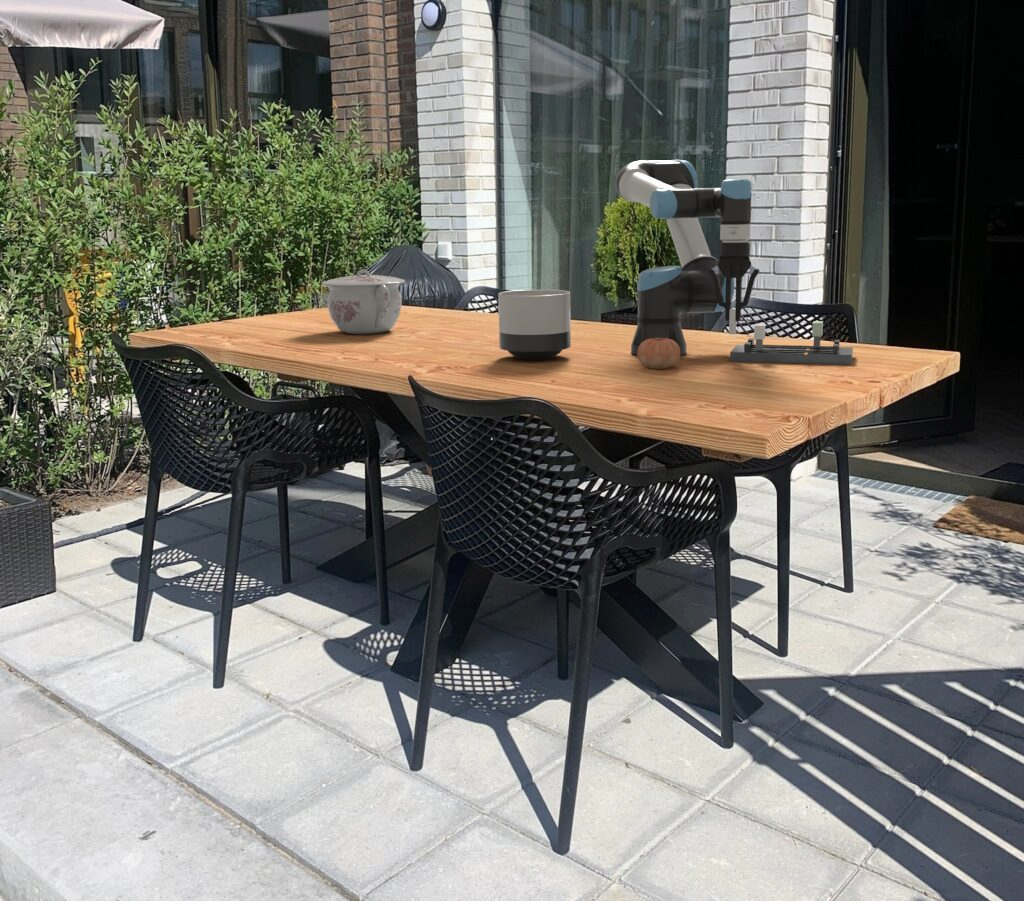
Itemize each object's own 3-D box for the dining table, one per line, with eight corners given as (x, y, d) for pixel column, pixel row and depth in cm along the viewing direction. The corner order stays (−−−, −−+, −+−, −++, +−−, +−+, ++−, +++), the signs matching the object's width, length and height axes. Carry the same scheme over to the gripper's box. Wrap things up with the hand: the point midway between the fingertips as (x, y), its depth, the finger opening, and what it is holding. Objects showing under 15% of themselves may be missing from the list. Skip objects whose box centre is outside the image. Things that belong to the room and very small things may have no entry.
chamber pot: (338, 327, 374) (334, 266, 369) (415, 326, 370) (413, 265, 366) (312, 337, 347) (308, 272, 343) (396, 337, 343) (393, 271, 339)
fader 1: (753, 350, 279) (754, 325, 277) (755, 348, 282) (756, 323, 281) (763, 351, 278) (763, 325, 277) (764, 348, 282) (765, 323, 280)
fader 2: (811, 347, 282) (812, 322, 280) (812, 345, 286) (813, 321, 284) (821, 348, 281) (822, 323, 280) (821, 345, 285) (823, 321, 283)
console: (729, 362, 278) (729, 345, 277) (736, 353, 293) (737, 337, 292) (850, 366, 269) (851, 348, 268) (852, 356, 284) (853, 339, 283)
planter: (579, 354, 299) (578, 289, 295) (559, 364, 282) (558, 296, 278) (513, 352, 306) (511, 289, 302) (489, 362, 288) (487, 295, 284)
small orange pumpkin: (669, 372, 265) (670, 340, 263) (629, 369, 271) (629, 338, 269) (687, 366, 274) (687, 335, 272) (648, 363, 280) (648, 333, 278)
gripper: (707, 242, 275) (705, 334, 280) (759, 241, 271) (756, 335, 276) (711, 240, 282) (709, 331, 287) (762, 240, 277) (759, 332, 283)
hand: (732, 333), depth 281 cm, fingers closed
